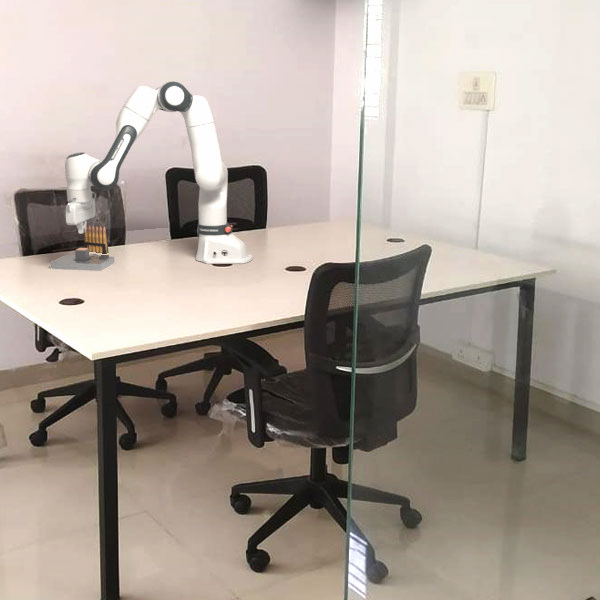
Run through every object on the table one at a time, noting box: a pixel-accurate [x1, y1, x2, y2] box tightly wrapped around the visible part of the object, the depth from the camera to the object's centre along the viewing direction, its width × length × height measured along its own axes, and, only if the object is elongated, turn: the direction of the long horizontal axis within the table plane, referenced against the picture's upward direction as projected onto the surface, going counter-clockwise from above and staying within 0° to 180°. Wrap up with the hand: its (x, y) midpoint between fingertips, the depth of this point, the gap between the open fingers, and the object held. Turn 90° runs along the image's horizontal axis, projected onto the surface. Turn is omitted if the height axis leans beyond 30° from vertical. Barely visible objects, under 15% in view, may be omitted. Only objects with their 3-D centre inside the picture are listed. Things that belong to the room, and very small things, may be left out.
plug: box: [74, 247, 91, 261], centre depth 347 cm, size 4×4×6 cm
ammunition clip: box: [83, 224, 110, 254], centre depth 367 cm, size 11×2×12 cm, turn 66°
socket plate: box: [49, 254, 115, 272], centre depth 347 cm, size 20×14×3 cm
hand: (82, 232), depth 344 cm, fingers closed
